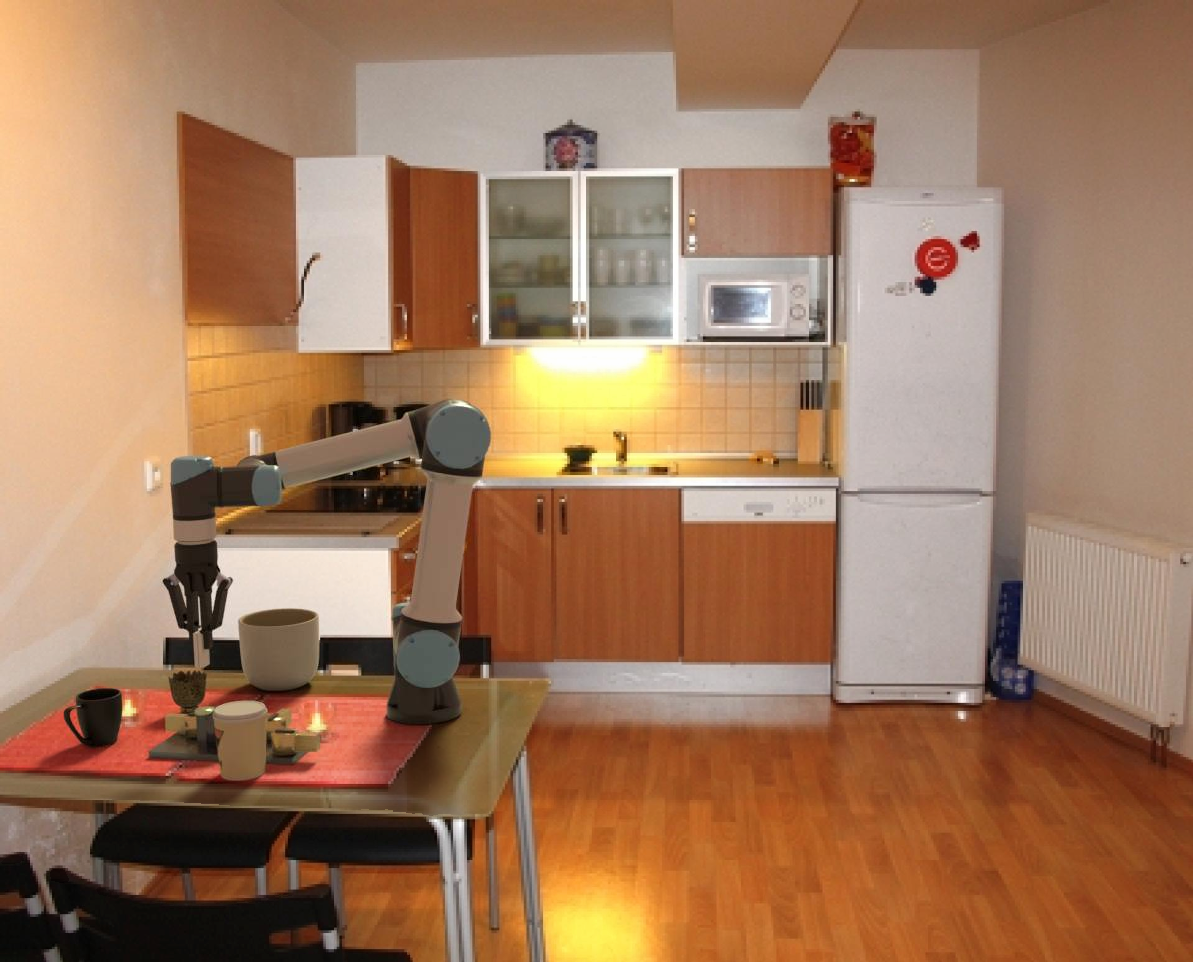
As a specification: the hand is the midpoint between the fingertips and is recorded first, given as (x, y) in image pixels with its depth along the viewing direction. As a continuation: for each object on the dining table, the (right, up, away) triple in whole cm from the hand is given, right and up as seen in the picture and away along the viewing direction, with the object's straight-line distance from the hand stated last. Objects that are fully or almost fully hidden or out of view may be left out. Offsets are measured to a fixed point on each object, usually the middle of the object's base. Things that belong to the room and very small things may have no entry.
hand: (202, 665), depth 243 cm
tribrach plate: (+5, -16, +3) cm, 17 cm away
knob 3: (+18, -15, -3) cm, 24 cm away
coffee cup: (+10, -18, -9) cm, 23 cm away
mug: (-22, -16, +6) cm, 28 cm away
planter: (+4, -11, +44) cm, 45 cm away
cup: (-10, -13, +25) cm, 30 cm away
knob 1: (-5, -14, +8) cm, 17 cm away
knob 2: (+12, -14, +7) cm, 20 cm away
